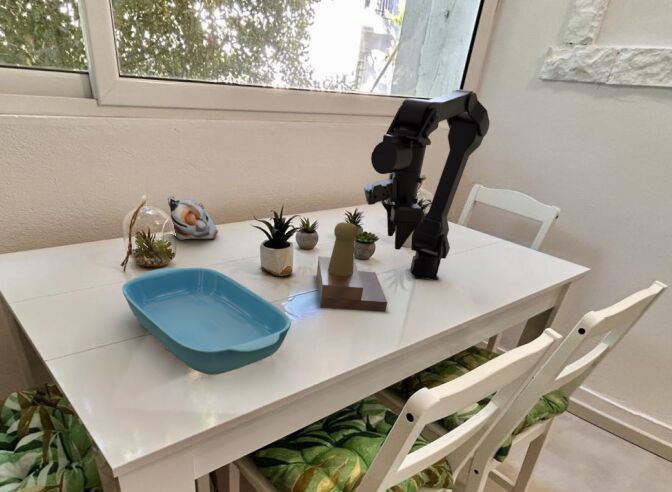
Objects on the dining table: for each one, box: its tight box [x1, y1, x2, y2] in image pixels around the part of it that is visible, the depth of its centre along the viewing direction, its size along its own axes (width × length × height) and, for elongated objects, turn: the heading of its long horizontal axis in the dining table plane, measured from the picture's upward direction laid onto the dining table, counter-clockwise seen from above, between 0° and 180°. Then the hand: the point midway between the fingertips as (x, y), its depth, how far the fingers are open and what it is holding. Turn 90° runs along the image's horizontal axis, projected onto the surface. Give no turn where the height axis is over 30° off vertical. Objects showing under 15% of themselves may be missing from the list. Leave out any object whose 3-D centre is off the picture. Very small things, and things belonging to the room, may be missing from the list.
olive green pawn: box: [328, 221, 359, 276], centre depth 105 cm, size 6×6×11 cm
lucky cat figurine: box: [167, 195, 219, 241], centre depth 132 cm, size 15×12×14 cm
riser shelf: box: [315, 256, 388, 313], centre depth 110 cm, size 15×18×6 cm
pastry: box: [264, 265, 293, 277], centre depth 119 cm, size 9×7×4 cm
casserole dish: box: [121, 267, 292, 376], centre depth 87 cm, size 37×22×7 cm, turn 41°
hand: (393, 242), depth 106 cm, fingers open, 9 cm apart
